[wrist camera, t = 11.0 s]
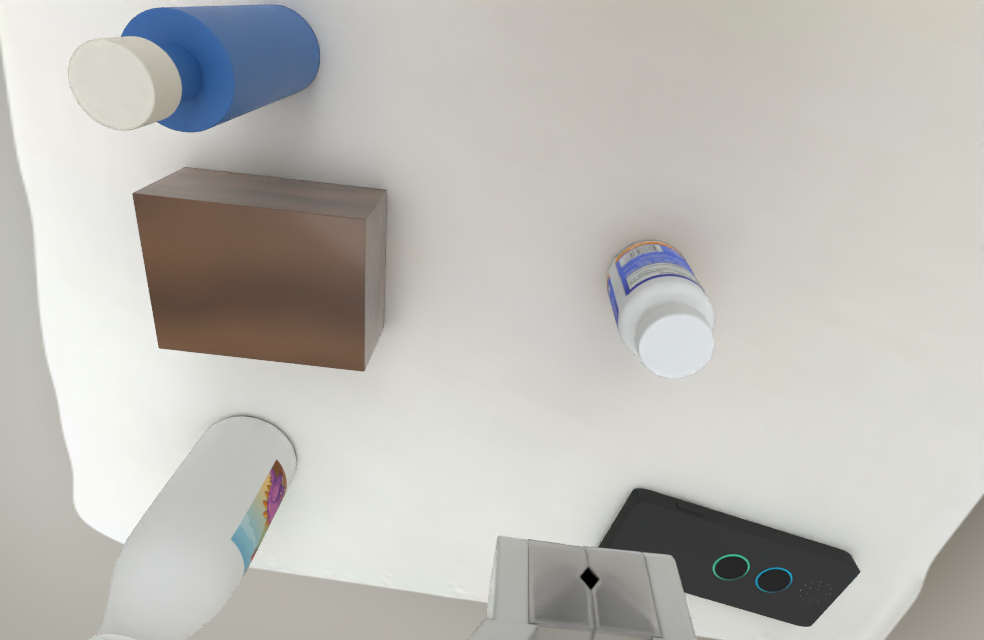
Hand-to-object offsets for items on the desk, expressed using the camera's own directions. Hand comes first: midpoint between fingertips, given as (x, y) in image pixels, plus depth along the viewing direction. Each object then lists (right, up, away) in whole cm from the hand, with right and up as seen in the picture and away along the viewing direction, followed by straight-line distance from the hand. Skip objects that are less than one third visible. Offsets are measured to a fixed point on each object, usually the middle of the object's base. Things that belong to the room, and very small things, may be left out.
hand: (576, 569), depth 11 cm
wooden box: (-15, +9, +31) cm, 36 cm away
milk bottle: (-21, -6, +40) cm, 45 cm away
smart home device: (+18, -15, +42) cm, 48 cm away
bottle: (-14, +15, +26) cm, 33 cm away
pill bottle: (+9, +7, +31) cm, 33 cm away
